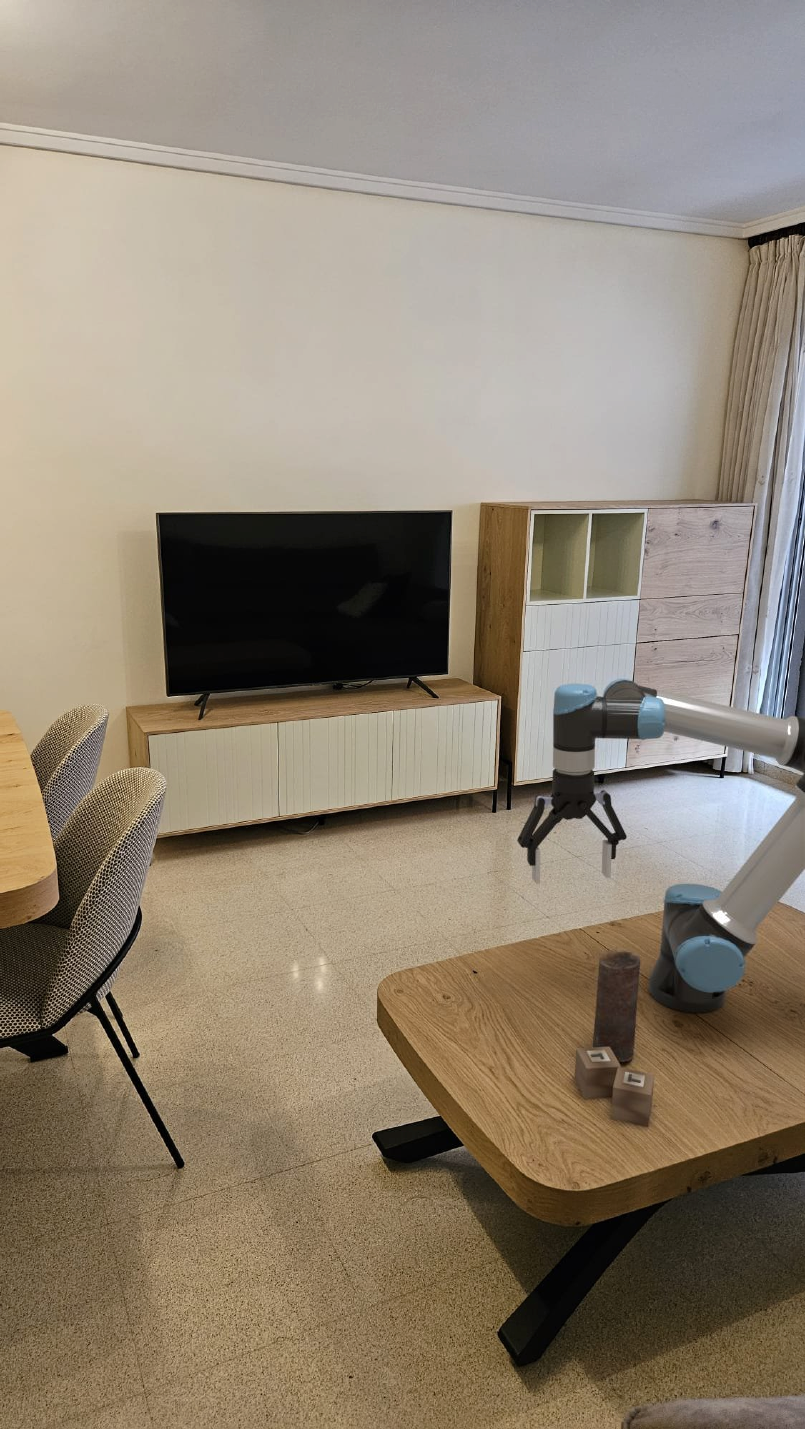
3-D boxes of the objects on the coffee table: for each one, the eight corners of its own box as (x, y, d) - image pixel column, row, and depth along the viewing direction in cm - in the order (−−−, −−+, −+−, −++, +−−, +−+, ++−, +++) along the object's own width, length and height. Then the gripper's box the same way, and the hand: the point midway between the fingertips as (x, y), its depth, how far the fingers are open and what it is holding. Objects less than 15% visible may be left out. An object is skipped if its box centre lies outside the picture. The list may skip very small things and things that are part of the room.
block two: (607, 1076, 173) (609, 1043, 172) (618, 1097, 167) (621, 1063, 166) (574, 1078, 172) (576, 1045, 171) (584, 1099, 167) (586, 1065, 165)
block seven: (651, 1105, 165) (654, 1071, 164) (648, 1127, 160) (651, 1092, 158) (615, 1098, 167) (618, 1064, 166) (610, 1119, 162) (613, 1084, 160)
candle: (624, 1072, 174) (632, 970, 169) (585, 1059, 178) (592, 959, 173) (638, 1052, 181) (647, 952, 176) (600, 1040, 184) (607, 942, 180)
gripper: (631, 759, 184) (627, 865, 189) (501, 767, 181) (501, 875, 186) (646, 770, 177) (642, 880, 182) (512, 779, 174) (511, 891, 179)
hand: (571, 878), depth 184 cm, fingers open, 13 cm apart
